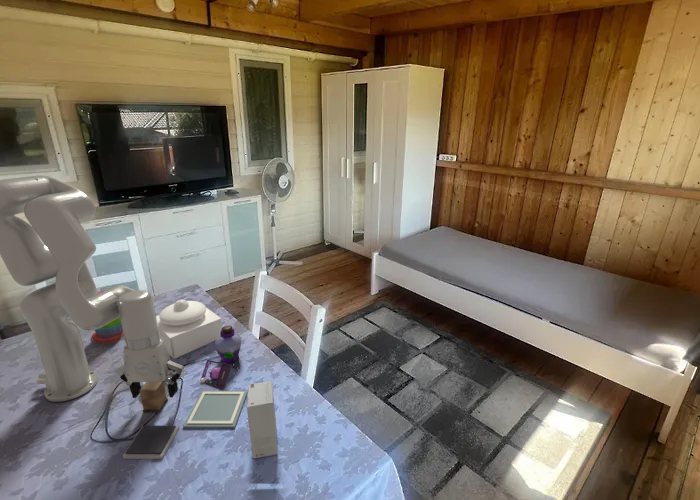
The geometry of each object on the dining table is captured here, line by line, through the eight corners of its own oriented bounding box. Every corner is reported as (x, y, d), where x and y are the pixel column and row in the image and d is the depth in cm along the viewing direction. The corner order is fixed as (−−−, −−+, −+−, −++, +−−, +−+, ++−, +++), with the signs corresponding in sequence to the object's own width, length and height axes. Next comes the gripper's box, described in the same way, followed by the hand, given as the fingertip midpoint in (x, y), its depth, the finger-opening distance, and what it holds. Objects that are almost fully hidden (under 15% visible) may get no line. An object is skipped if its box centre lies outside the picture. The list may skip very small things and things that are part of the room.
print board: (183, 428, 93) (182, 425, 93) (202, 392, 106) (201, 389, 105) (234, 428, 93) (234, 425, 93) (247, 392, 106) (247, 390, 105)
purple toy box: (222, 388, 106) (198, 382, 109) (232, 389, 110) (209, 384, 114) (229, 364, 108) (205, 359, 112) (239, 366, 113) (216, 362, 116)
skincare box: (277, 455, 86) (274, 404, 81) (251, 460, 85) (246, 408, 80) (276, 427, 94) (273, 379, 89) (252, 431, 93) (247, 382, 88)
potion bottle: (221, 371, 115) (217, 337, 111) (212, 357, 121) (208, 325, 117) (248, 361, 119) (245, 329, 115) (238, 348, 126) (235, 317, 122)
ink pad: (123, 458, 85) (122, 454, 84) (143, 427, 93) (142, 423, 93) (162, 458, 85) (161, 454, 84) (179, 428, 93) (178, 424, 93)
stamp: (143, 412, 98) (138, 391, 96) (151, 400, 102) (147, 379, 100) (160, 412, 98) (156, 391, 96) (167, 400, 102) (164, 379, 100)
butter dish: (201, 321, 143) (196, 284, 138) (224, 340, 131) (219, 300, 126) (153, 339, 131) (145, 299, 126) (174, 361, 119) (166, 318, 114)
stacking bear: (124, 325, 139) (115, 282, 133) (133, 336, 132) (123, 291, 126) (90, 337, 131) (79, 291, 125) (98, 348, 125) (86, 301, 119)
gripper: (99, 347, 89) (114, 404, 95) (170, 346, 90) (182, 403, 95) (117, 331, 97) (130, 385, 102) (183, 330, 97) (193, 384, 102)
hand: (155, 394), depth 99 cm, fingers open, 9 cm apart
